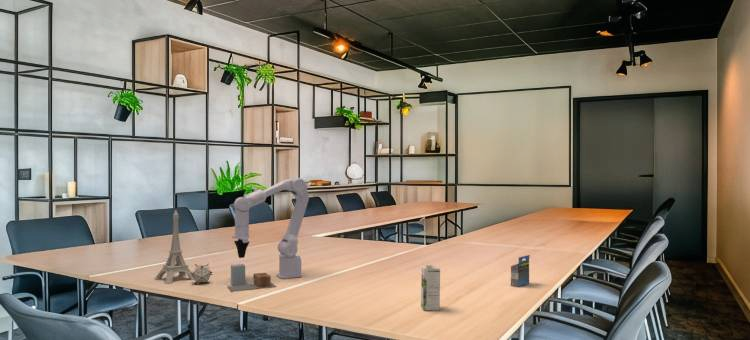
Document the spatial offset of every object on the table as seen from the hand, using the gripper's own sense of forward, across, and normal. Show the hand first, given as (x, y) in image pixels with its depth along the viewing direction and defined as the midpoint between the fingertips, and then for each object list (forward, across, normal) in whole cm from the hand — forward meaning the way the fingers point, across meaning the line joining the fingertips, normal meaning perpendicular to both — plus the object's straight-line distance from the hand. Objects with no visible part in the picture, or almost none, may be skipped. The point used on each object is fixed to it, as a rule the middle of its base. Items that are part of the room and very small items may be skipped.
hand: (241, 257), depth 216 cm
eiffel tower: (+11, -17, -24) cm, 31 cm away
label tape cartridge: (+9, +58, +102) cm, 118 cm away
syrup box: (+10, +71, +49) cm, 87 cm away
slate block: (+10, +6, -3) cm, 12 cm away
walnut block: (+8, +8, +6) cm, 12 cm away
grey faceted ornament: (+10, -4, -16) cm, 19 cm away
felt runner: (+10, +13, +1) cm, 16 cm away
